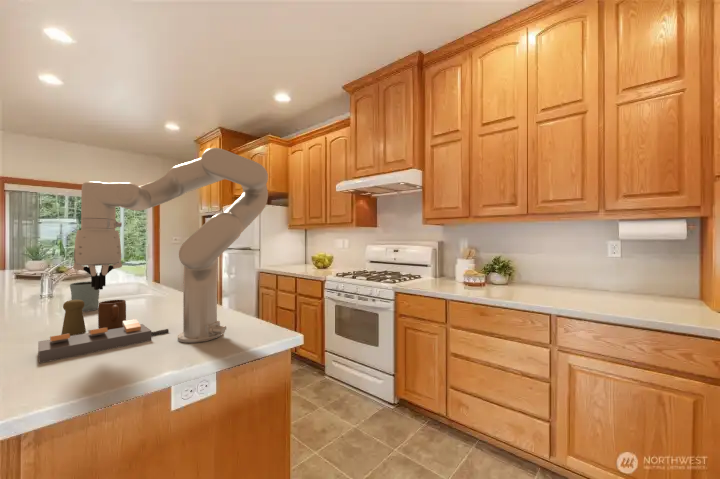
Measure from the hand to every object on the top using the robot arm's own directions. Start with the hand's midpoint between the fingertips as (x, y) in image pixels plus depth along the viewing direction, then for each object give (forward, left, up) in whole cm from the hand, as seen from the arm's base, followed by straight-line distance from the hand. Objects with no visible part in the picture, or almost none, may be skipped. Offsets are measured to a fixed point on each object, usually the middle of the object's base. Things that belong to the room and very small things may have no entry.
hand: (98, 289), depth 89 cm
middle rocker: (+1, -1, -13) cm, 13 cm away
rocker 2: (-3, -8, -13) cm, 15 cm away
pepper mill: (+22, -9, -17) cm, 30 cm away
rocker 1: (+5, +6, -13) cm, 15 cm away
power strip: (0, -4, -17) cm, 17 cm away
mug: (+13, -15, -17) cm, 26 cm away
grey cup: (+55, -36, -17) cm, 68 cm away
